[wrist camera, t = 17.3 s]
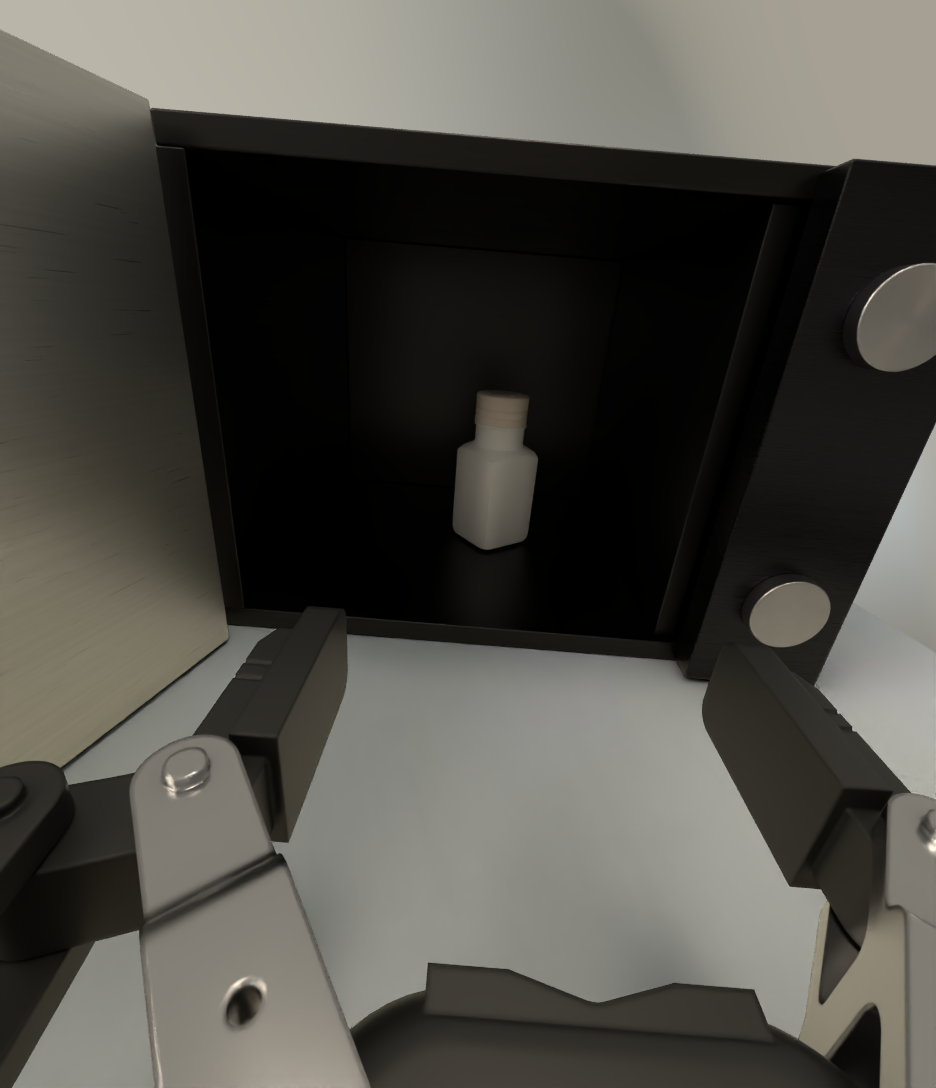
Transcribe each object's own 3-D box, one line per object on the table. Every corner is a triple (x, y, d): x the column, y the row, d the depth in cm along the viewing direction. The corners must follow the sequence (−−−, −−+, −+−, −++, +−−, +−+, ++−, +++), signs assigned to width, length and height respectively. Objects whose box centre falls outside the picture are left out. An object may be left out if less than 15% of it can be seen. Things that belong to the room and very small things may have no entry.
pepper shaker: (483, 555, 31) (498, 400, 27) (448, 532, 34) (457, 388, 30) (530, 543, 34) (550, 398, 30) (493, 522, 37) (507, 388, 33)
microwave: (823, 704, 22) (1085, 158, 14) (200, 654, 22) (96, 74, 14) (654, 511, 45) (718, 254, 36) (342, 485, 44) (334, 222, 36)
